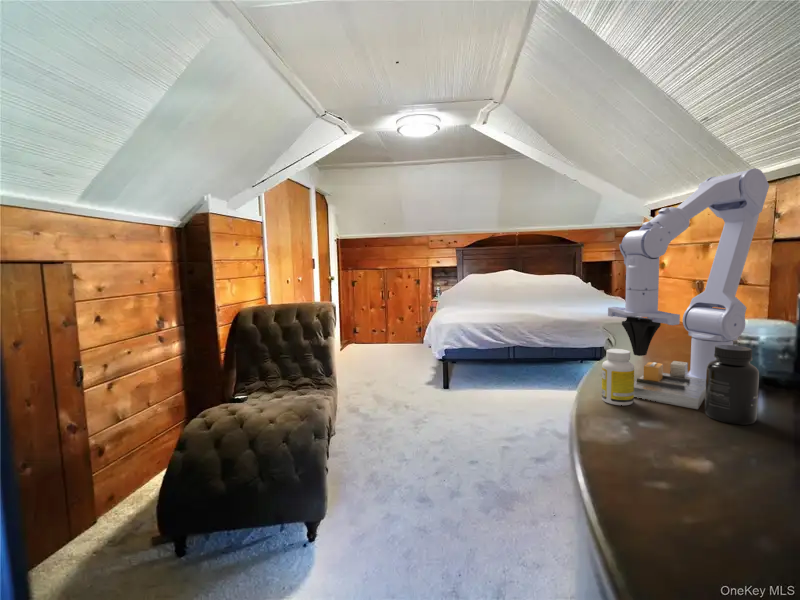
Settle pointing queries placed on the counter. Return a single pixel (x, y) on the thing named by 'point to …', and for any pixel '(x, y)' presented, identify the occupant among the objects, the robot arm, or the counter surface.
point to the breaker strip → (673, 387)
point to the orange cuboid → (653, 371)
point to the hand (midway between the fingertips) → (640, 354)
